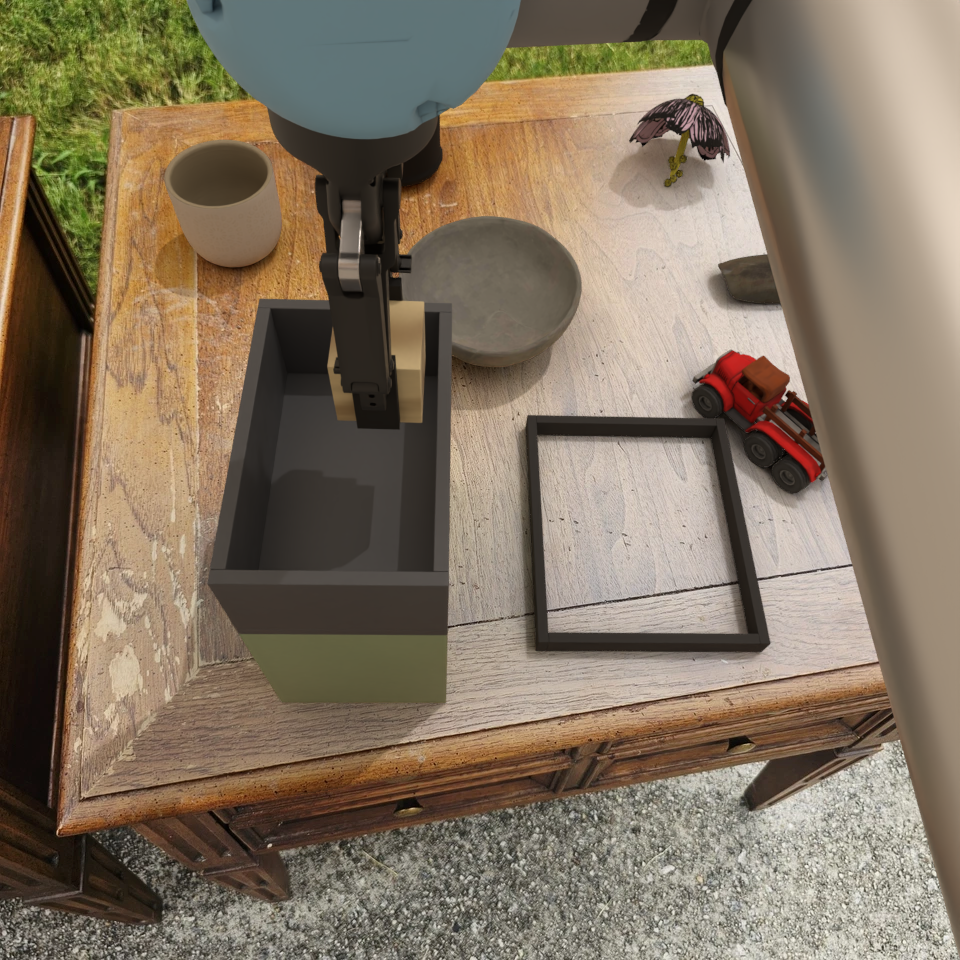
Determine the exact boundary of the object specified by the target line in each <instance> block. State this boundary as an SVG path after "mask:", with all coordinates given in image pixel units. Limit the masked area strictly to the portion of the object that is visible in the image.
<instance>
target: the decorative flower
mask: <svg viewBox="0 0 960 960" xmlns="http://www.w3.org/2000/svg"><path fill="white" fill-rule="evenodd" d="M636 126H637V127H636V128H635V130H634V131H633V133H632V134H631V136H630V138H629V139H628V142H629V144H631V143H633V141H634V140H635V144H637V143H640V145H641V148H644V147H645V146H646V145H647V144H648V143H649V142H650V141H651V140H653V139H658V138H662V137H663V136H664V135H665V134H666V133H668V132H669V131H671V132H672V133H675V134H676V135H678V136H680V138H679V142H678V145H677V149H676V153H675V155H670V156H669V157H668V159H667V163H668V164H669V165H668V169H669V170H670V173H669V178H665V179H664V181H663V184H664V187H666V188H669V187H671V186H672V184H675V183H676V182H677V181H678V179H681V178H682V177H684V171H683V170H682V169H679V168H680V166H681V165H682V164H686V163H687V161H688V156H686V154H685V151H686V148H687V145H688V142H690V144H691V145H690V146H691V149H694V148H696V150H697V154H698V155H699V157H700V159H701V160H702V161H703V162H705V161H711V160H716V159H717V156H718V154H720V159H721V162H722V164H724V162H725V156H727V158H728V159H730V157H731V149H730V143H729V139H728V135H727V133H726V130H725V128H724V126H723V124H722V122H721V121H720V119H719V117H718V116H717V115H716V114H715V113H714V112H713V111H712V110H710V109H709V108H707V107H706V106H705V102H704V98H703V97H702V96H701V95H698V94H695V93H691V94H689V95H687V96H685V97H684V98H674V99H669V100H666V101H663V102H661V103H659V104H658V105H656V106H654V107H652V108H651V109H650V110H648V111H647V112H646V113H645V114H644V115H643V116H642V117H641V118H639V121H638V122H637V124H636Z"/></svg>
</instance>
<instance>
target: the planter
mask: <svg viewBox="0 0 960 960" xmlns="http://www.w3.org/2000/svg"><path fill="white" fill-rule="evenodd" d="M163 180H164V185H165V186H164V187H165V189H166V191H167V194H168V197H169V200H170V202H171V205H172V207H173V211H174V213H175V217H176V218H177V221H178V223H179V226H180V228H181V230H182V233H183V235H184V237H185V239H186V240H187V242H188V244H189V245H190V246H191V248H192V249H193V251H195V253H197V254H198V256H200V257H201V258H202V259H204V260H206V261H207V262H209V263H211V264H214V265H217V266H220V267H225V268H242V267H249V266H252V265H253V264H256V263H259V262H260V261H262V260H263V259H265V258H266V257H267V256H269V255H270V254H271V253H272V251H273V250H275V247H276V246H277V245H278V243H279V240H280V238H281V234H282V228H283V218H282V217H283V216H282V210H281V203H280V197H279V193H278V188H277V182H276V177H275V173H274V167H273V164H272V161H271V159H270V158H269V156H268V154H267V153H265V152H264V151H263V150H262V149H260V148H259V147H257V146H256V145H254V144H251V143H248V142H246V141H242V140H235V139H213V140H207V141H203V142H200V143H197V144H194V145H191V146H189V147H187V148H185V149H184V150H182V151H180V152H179V153H177V154H176V155H174V157H173V158H172V159H171V160H170V162H169V163H168V164H167V166H166V168H165V172H164V178H163Z"/></svg>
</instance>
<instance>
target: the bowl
mask: <svg viewBox="0 0 960 960" xmlns="http://www.w3.org/2000/svg"><path fill="white" fill-rule="evenodd" d="M406 254H409V255H412V270H411V273H398V277H400V278H401V279H402V296H403V301H422V302H425V303H452V357H454V358H456V359H458V360H460V361H462V362H465V363H467V364H469V365H474V366H479V367H485V368H505V367H510V366H513V365H517V364H521V363H523V362H526V361H529V360H530V359H533V358H535V357H537V356H538V355H540V354H542V353H543V352H545V351H546V350H548V349H549V348H550V347H551V346H552V345H553V344H555V343H556V342H557V341H558V340H559V339H560V338H561V337H562V336H563V334H564V333H565V332H566V331H567V329H569V326H570V325H571V323H572V321H573V320H574V317H575V315H576V313H577V312H578V308H579V305H580V302H581V297H582V292H583V287H582V285H583V284H582V282H583V281H582V275H581V272H580V269H579V265H578V264H577V261H576V260H575V258H574V257H573V255H572V254H571V252H570V251H569V250H568V248H566V246H565V245H564V244H563V243H561V242H560V241H559V240H558V239H556V237H554V236H553V235H552V234H551V233H549V232H548V231H547V230H545V229H543V228H542V227H540V226H538V225H535V224H533V223H531V222H528V221H525V220H520V219H517V218H511V217H505V216H497V215H481V216H473V217H467V218H463V219H459V220H455V221H453V222H450V223H446V224H444V225H441V226H439V227H437V228H435V229H433V230H432V231H430V232H428V233H427V234H425V235H424V236H423V237H421V238H420V239H419V240H418V241H417V242H415V244H413V246H412V247H411V248H410V249H409V250H408V252H407V253H406Z"/></svg>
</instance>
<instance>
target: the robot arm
mask: <svg viewBox="0 0 960 960" xmlns="http://www.w3.org/2000/svg"><path fill="white" fill-rule="evenodd" d="M186 4H187V6H188V8H189V12H190V14H191V16H192V18H193V20H194V22H195V24H196V27H197V29H198V31H199V34H200V35H201V37H202V38H203V40H204V42H205V43H206V45H207V46H208V48H209V49H210V51H211V52H212V54H213V56H214V57H215V58H216V60H217V61H218V62H219V64H220V65H221V66H222V67H223V69H224V70H225V71H226V73H227V74H228V75H229V76H230V77H231V78H232V79H233V80H234V81H235V82H236V84H237V85H238V86H240V87H241V88H242V89H243V91H245V92H246V93H248V95H250V96H251V98H252V99H254V100H256V101H257V102H258V103H260V104H261V105H263V106H265V107H266V110H267V114H268V115H267V116H268V119H269V123H270V127H271V130H272V133H273V135H274V137H275V139H276V140H277V142H278V143H279V144H280V146H281V147H282V148H283V149H284V150H285V151H286V152H287V153H288V154H289V155H291V156H292V157H294V158H295V159H296V160H298V161H300V162H302V163H303V164H306V165H307V166H309V167H311V168H313V169H314V170H316V171H317V172H318V173H319V174H316V175H315V178H314V194H315V203H316V211H317V213H318V215H320V217H321V218H322V222H323V231H324V232H323V233H324V243H325V252H322V254H321V256H320V260H319V261H318V263H319V264H318V270H319V273H321V278H322V282H323V286H324V288H325V291H326V294H327V298H328V299H327V300H329V305H330V312H331V318H332V324H333V331H334V337H335V343H336V350H337V356H338V357H336V360H335V364H334V368H333V371H334V374H340V375H341V386H342V389H343V392H344V393H352V397H353V403H354V409H355V416H356V422H357V428H358V429H393V430H400V410H399V397H398V384H397V370H396V356H395V355H391V330H390V305H389V301H403V296H402V279H401V278H400V277H397V276H395V277H394V276H393V273H395V274H399V273H411V270H412V255H409V254H407V253H400V248H399V247H400V245H401V240H402V239H403V236H404V234H403V233H404V232H403V231H404V230H403V229H401V213H400V210H401V206H402V205H401V203H402V187H401V180H402V177H403V163H404V162H406V161H407V160H409V159H411V158H412V157H414V156H415V155H416V154H418V153H419V152H420V151H421V150H422V149H423V148H424V147H425V146H426V145H427V144H428V142H429V141H430V139H431V138H432V136H433V134H434V132H435V129H436V126H437V121H438V115H440V116H441V115H442V114H443V113H445V112H446V111H448V110H450V109H452V110H454V109H456V108H459V107H460V106H462V105H463V104H464V103H465V102H466V101H467V100H469V99H470V98H471V97H472V96H473V95H474V94H476V93H477V91H478V90H479V89H480V88H481V87H482V85H483V84H484V83H485V82H486V81H487V80H488V78H489V77H490V76H491V75H492V73H493V72H494V71H495V69H496V68H497V66H498V64H499V62H500V61H501V59H502V57H503V55H504V54H505V52H506V49H515V48H516V49H518V48H538V47H539V48H540V47H557V46H559V47H560V46H578V45H599V44H620V43H640V42H641V43H642V42H648V41H703V42H704V43H705V44H706V45H707V47H708V50H709V55H710V60H711V62H712V65H713V67H714V70H715V72H716V75H717V79H718V84H719V89H720V92H721V96H722V99H723V104H724V106H725V107H726V108H727V112H728V115H729V119H730V123H731V127H732V130H733V134H734V139H735V141H736V145H737V149H738V153H739V157H740V159H741V163H742V166H743V170H744V175H745V178H746V182H747V185H748V188H749V193H750V196H751V200H752V204H753V208H754V211H755V214H756V218H757V222H758V226H759V229H760V233H761V237H762V240H763V244H764V248H765V251H766V254H767V255H768V259H769V262H770V266H771V270H772V273H773V277H774V281H775V284H776V288H777V292H778V295H779V299H780V307H781V309H782V313H783V317H784V320H785V324H786V328H787V331H788V335H789V338H790V343H791V346H792V350H793V352H794V357H795V360H796V364H797V369H798V372H799V376H800V380H801V383H802V387H803V389H804V394H805V397H806V401H807V404H808V405H809V409H810V412H811V416H812V420H813V423H814V427H815V431H816V434H817V438H818V442H819V445H820V449H821V453H822V456H823V460H824V464H825V467H826V471H825V472H826V475H827V477H828V481H829V486H830V488H831V493H832V496H833V500H834V504H835V507H836V511H837V514H838V518H839V523H840V526H841V529H842V532H843V536H844V540H845V544H846V547H847V551H848V555H849V558H850V563H851V566H852V569H853V573H854V577H855V581H856V584H857V587H858V591H859V595H860V599H861V602H862V606H863V610H864V613H865V617H866V620H867V625H868V628H869V632H870V636H871V639H872V643H873V646H874V650H875V653H876V657H877V661H878V664H879V668H880V672H881V675H882V679H883V680H882V681H883V683H884V686H885V690H886V694H887V697H888V701H889V705H890V708H891V712H892V715H893V719H894V722H895V727H896V731H897V735H898V738H899V741H900V746H901V749H902V753H903V756H904V759H905V764H906V767H907V771H908V775H909V778H910V783H911V786H912V789H913V792H914V796H915V801H916V804H917V808H918V811H919V815H920V819H921V822H922V826H923V829H924V833H925V837H926V840H927V844H928V848H929V851H930V855H931V859H932V862H933V866H934V869H935V873H936V876H937V881H938V884H939V888H940V892H941V895H942V899H943V902H944V906H945V910H946V914H947V917H948V921H949V925H950V928H951V932H952V935H953V939H954V942H955V946H956V950H957V954H958V958H959V959H960V0H186Z"/></svg>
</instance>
